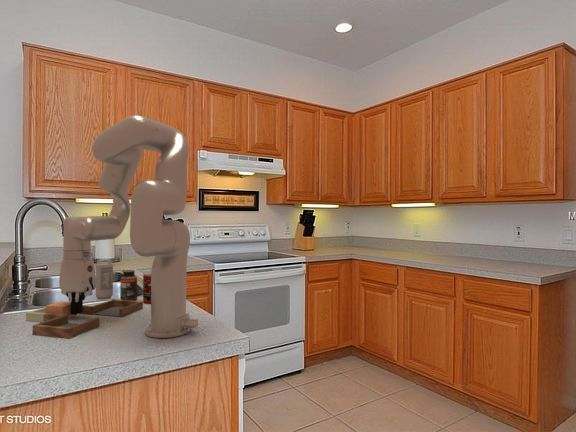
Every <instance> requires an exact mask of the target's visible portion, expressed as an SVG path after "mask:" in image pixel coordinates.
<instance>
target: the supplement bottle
mask: <svg viewBox="0 0 576 432" xmlns="http://www.w3.org/2000/svg"><path fill="white" fill-rule="evenodd" d="M122 273H123V274H122V276H121V277H120V300H129V301H137V299H138V276H137V275H135V270H134V269H127V270H126V269H125V270H123V271H122Z"/></svg>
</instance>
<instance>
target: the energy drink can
mask: <svg viewBox="0 0 576 432" xmlns="http://www.w3.org/2000/svg"><path fill="white" fill-rule="evenodd" d="M95 276H96V288H95V298H96V299H97V300H101V301H102V300H109V299H110V300H111V299H112V296H113V294H114V290H113V289H114V263H113V261H112V259H111V258H110V259H107V258H106V259H98V260H97V262H96V264H95Z"/></svg>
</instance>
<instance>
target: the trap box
mask: <svg viewBox="0 0 576 432" xmlns="http://www.w3.org/2000/svg"><path fill="white" fill-rule="evenodd" d="M143 309H144V302H143V300H142V301H141V300H140V301H139V300H133V301H129V300H121V299H110V300H106V301H103V302H102V303H98V304H95V305H85V304H83V312H82V313H79V314H82V315H94V316H106V317H117V318H123V317H126V316H128V315H130V314H133V313H135V312H138V311H140V310H143ZM79 314H78V315H79ZM25 321H27V322H34V323H35V322H37V324H33V325H32V336H43V337H52V338H62V339H72V338H74V337H76V336H79V335H82V334H84V333H87V332H88V331H91V330H93V329H97V328H99V327H100V317H94V318H93V319H89V320H87V321H83V322H81V323H75V322H69V319H68V315H61V314H49V313H46V306H44V307H41V308H38V309H34V310H30V311H28V312H27V311H26V312H25ZM38 322H39V323H38Z"/></svg>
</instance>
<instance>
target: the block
mask: <svg viewBox="0 0 576 432" xmlns="http://www.w3.org/2000/svg"><path fill="white" fill-rule="evenodd" d="M45 307H46V313H49V314H61V315H68V320H70V319H72V318H75V317H78V314H77V315H74V314H73V315H72V314H71V302H70V301H63V300H61V301H58V302H53V303H51V304H47V305H45Z"/></svg>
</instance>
